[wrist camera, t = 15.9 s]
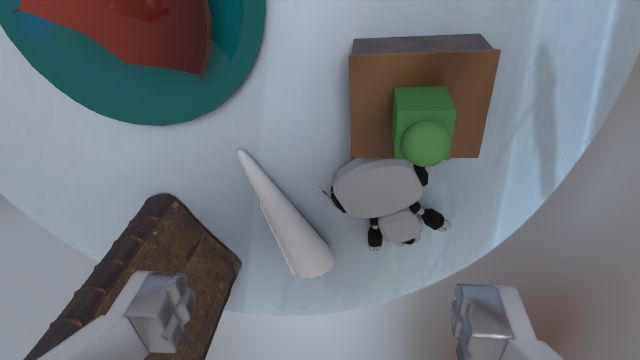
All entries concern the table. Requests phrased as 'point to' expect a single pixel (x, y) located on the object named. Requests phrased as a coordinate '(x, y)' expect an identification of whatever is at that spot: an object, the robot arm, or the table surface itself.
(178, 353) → the book
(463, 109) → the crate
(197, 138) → the table surface
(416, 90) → the green toy
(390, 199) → the robot toy
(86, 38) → the boat on round base
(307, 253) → the long cone
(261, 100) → the table surface
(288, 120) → the table surface
